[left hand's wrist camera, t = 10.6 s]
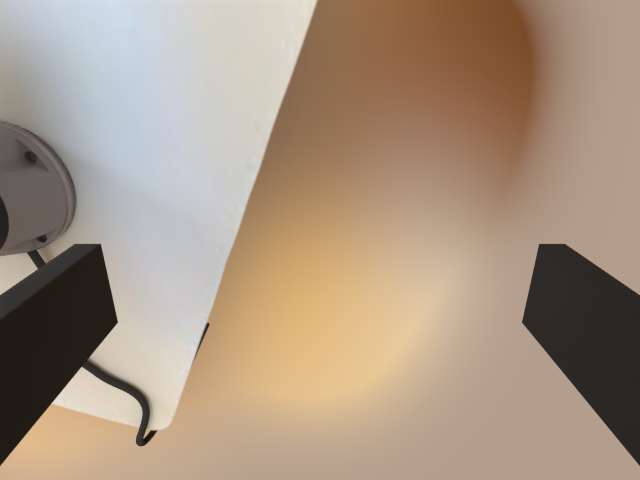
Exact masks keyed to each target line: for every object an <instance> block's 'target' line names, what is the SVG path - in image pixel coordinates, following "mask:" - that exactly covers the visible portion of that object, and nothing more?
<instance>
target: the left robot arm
mask: <svg viewBox="0 0 640 480" xmlns="http://www.w3.org/2000/svg"><path fill="white" fill-rule="evenodd" d="M74 210H75V192H74V187H73V184H72V181H71V178H70V176H69V173H68V171H67V169H66V168H65V166H64V164H63V163H62V161H61V160H60V158H59V157H58V156H57V155H56V153H55V152H54V151H53V150H52V149H51V148H50V147H49V146H48V145H47V144H46V143H45V142H43V141H42V140H41V139H39V138H38V137H37V136H35V135H34V134H32V133H30V132H28V131H27V130H25V129H23V128H20V127H18V126H15V125H13V124H9V123H5V122H0V256H5V255H12V254H19V253H25V252H27V253H28V255H29V256H30V258H31V259H32V261H33V262H34V264H35V265H36V266H37V268H38V270H36V271H35V272H34V273H32V274H31V275H29V276H28V277H26V278H25V279H23V280H22V281H20V282H19V283H17V284H16V285H15V286H13V287H12V288H10V289H9V290H7V291H6V292H4V293H3V294H1V295H0V465H1V464H2V463H3V462H4V461H5V459H6V458H7V457H8V456H9V454H10V453H11V452H12V451H13V450H14V448H15V447H16V446H17V445H18V444H19V442H20V441H21V440H22V439H23V437H24V436H25V435H26V434H27V432H28V431H29V430H30V429H31V428H32V426H33V425H34V424H35V423H36V422H37V420H38V419H39V418H40V417H41V415H42V414H43V413H44V412H45V411H46V409H47V408H48V407H49V406H50V404H51V403H52V402H53V401H54V400H55V398H56V397H57V396H58V395H59V394H60V392H61V391H62V390H63V389H64V387H65V386H66V385H67V384H68V383H69V381H70V380H71V379H72V378H73V376H74V375H75V374H76V373H77V372H78V370H79V369H80V368H81V367H83V368H85V369H86V370H88V371H89V372H90V373H92V374H93V375H95V376H96V377H97V378H99V379H100V380H102V381H104V382H106V383H108V384H110V385H112V386H114V387H116V388H118V389H121V390H123V391H125V392H127V393H128V394H130V395H132V396H133V397H134V398H135V399H136V400H137V401H138V402H139V403H140V405H141V407H142V411H143V416H142V422H141V425H140V428H139V431H138V434H137V437H136V444H137V445H138V446H144V445H146V444H147V443H148V442H149V441H150V440H151V439H152V438H153V436H154V435H155V434H156V432H157V431H158V430H151V431H150V432H149V433H148V434H147V436H146V437H145V438H144V439H143V437H144V434H145V431H146V428H147V425H148V421H149V415H150V411H149V405H148V403H147V400H146V399H145V397H144V396H143V395H142V394H141V393H140V392H139V391H138V390H136V389H135V388H133V387H132V386H130V385H128V384H126V383H123V382H121V381H119V380H117V379H115V378H113V377H111V376H109V375H107V374H105V373H104V372H103V371H101V370H100V369H98V368H97V367H96V366H94V365H93V364H91V363H90V362H88V361H87V359H88V358H89V357H90V356H91V355H92V353H93V352H94V351H95V350H96V348H97V347H98V346H99V345H100V344H101V342H102V341H103V340H104V339H105V338H106V336H107V335H108V334H109V333H110V331H111V330H112V329H113V328H114V327H115V325H116V324H117V323H118V321H117V316H116V311H115V307H114V302H113V298H112V293H111V289H110V284H109V280H108V275H107V270H106V266H105V261H104V257H103V252H102V248H101V244H74V245H73V246H71V247H70V248H69V249H67V250H66V251H64V252H63V253H61V254H60V255H58V256H57V257H55V258H54V259H52V260H51V261H50V262H48V263H47V264H45V262H44V261H43V259H42V258H41V256H40V255H39V253H38V252H37V249H40V248H42V247H44V246H46V245H48V244H49V243H51V242H52V241H54V240H56V239H57V238H58V237H60V236H61V235H62V234H63V233H64V232H65V231H66V229H67V228H68V226H69V225H70V223H71V221H72V218H73V215H74ZM522 323H523V324H524V325H525V326H526V328H527V329H528V330H529V331H530V333H531V334H532V335H533V336H534V337H535V339H536V340H537V341H538V342H539V344H540V345H541V346H542V347H543V348H544V350H545V351H546V352H547V353H548V355H549V356H550V357H551V358H552V359H553V361H554V362H555V363H556V364H557V365H558V367H559V368H560V369H561V370H562V372H563V373H564V374H565V375H566V376H567V378H568V379H569V380H570V381H571V383H572V384H573V385H574V386H575V387H576V389H577V390H578V391H579V392H580V394H581V395H582V396H583V397H584V398H585V400H586V401H587V402H588V403H589V404H590V406H591V407H592V408H593V409H594V411H595V412H596V413H597V414H598V415H599V417H600V418H601V419H602V420H603V422H604V423H605V424H606V425H607V426H608V428H609V429H610V430H611V431H612V432H613V434H614V435H615V436H616V437H617V439H618V440H619V441H620V442H621V444H622V445H623V446H624V447H625V448H626V450H627V451H628V452H629V453H630V454H631V456H632V457H633V458H634V459H635V460H636V462H637V463H638V464H639V465H640V295H639V294H637V293H636V292H634V291H633V290H631V289H630V288H628V287H627V286H625V285H624V284H623V283H621V282H620V281H618V280H617V279H615V278H614V277H612V276H611V275H609V274H608V273H606V272H605V271H604V270H602V269H601V268H599V267H598V266H596V265H595V264H593V263H592V262H590V261H589V260H588V259H586V258H585V257H583V256H582V255H580V254H579V253H577V252H576V251H574V250H573V249H571V248H570V247H568V246H567V245H566V244H539V248H538V252H537V257H536V261H535V266H534V270H533V275H532V280H531V284H530V289H529V293H528V298H527V302H526V307H525V311H524V316H523V321H522ZM209 325H210V324H209V323H206V325H205V328H204V331H203V333H202V336H201V339H200V342H199V345H198V348H197V351H196V354H195V357H194V360H195V358H196V355H197V353H198V350H199V348H200V345H201V343H202V341H203V339H204V336H205V334H206V332H207V330H208V327H209ZM194 360H193V362H194ZM192 365H193V363H192ZM191 367H192V366H191ZM190 370H191V369H190ZM189 372H190V371H189Z"/></svg>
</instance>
